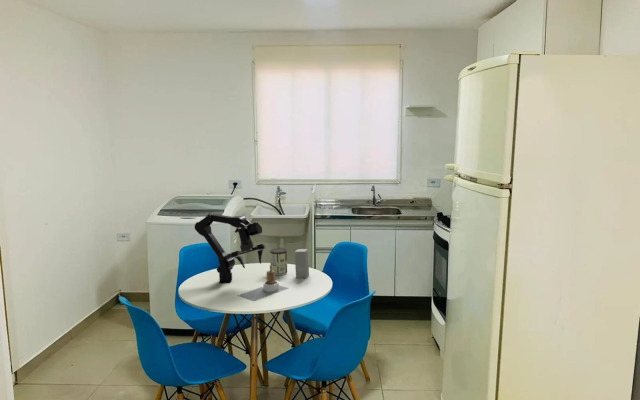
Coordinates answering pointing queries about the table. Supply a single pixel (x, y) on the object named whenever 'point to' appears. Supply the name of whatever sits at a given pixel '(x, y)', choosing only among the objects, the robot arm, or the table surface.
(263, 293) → the tool board
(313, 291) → the table surface
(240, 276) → the table surface
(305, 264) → the skincare box
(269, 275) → the brown tall cylinder
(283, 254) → the coffee can
